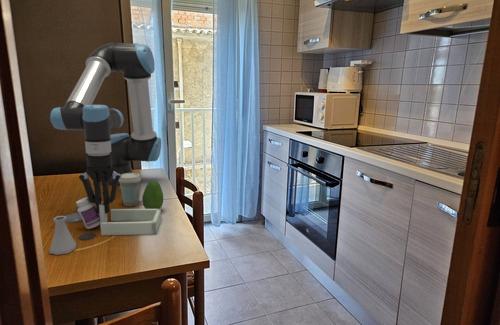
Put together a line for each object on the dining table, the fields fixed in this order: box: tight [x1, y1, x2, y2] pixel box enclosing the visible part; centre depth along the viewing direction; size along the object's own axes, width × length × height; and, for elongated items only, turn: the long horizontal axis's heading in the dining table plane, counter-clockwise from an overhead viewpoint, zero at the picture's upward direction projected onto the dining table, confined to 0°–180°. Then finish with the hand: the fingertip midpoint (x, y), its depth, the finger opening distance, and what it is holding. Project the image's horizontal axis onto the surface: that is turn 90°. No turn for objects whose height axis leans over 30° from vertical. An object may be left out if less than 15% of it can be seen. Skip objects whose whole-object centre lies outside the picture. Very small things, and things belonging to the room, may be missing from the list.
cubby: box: [99, 208, 162, 236], centre depth 113 cm, size 12×17×4 cm
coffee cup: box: [119, 172, 142, 207], centre depth 133 cm, size 8×8×12 cm
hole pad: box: [78, 232, 97, 241], centre depth 105 cm, size 5×5×1 cm
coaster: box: [65, 212, 83, 224], centre depth 119 cm, size 8×8×1 cm
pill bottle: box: [75, 196, 100, 230], centre depth 110 cm, size 5×5×10 cm
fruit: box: [141, 180, 164, 209], centre depth 126 cm, size 8×8×12 cm
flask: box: [48, 215, 78, 256], centre depth 96 cm, size 7×7×10 cm
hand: (104, 221), depth 112 cm, fingers closed
